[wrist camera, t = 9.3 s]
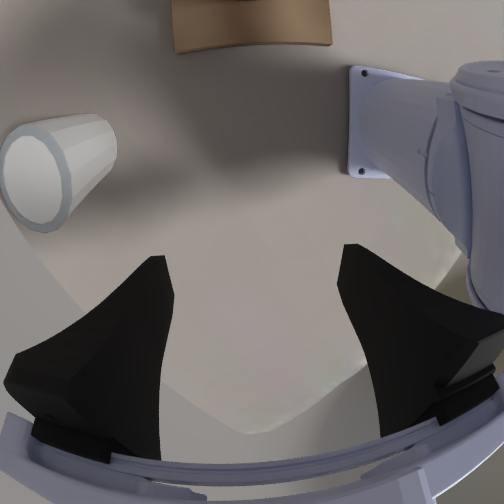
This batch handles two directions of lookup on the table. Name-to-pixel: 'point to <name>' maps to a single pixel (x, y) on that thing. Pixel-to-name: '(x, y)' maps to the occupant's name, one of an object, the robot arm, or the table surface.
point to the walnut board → (249, 23)
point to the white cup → (54, 167)
